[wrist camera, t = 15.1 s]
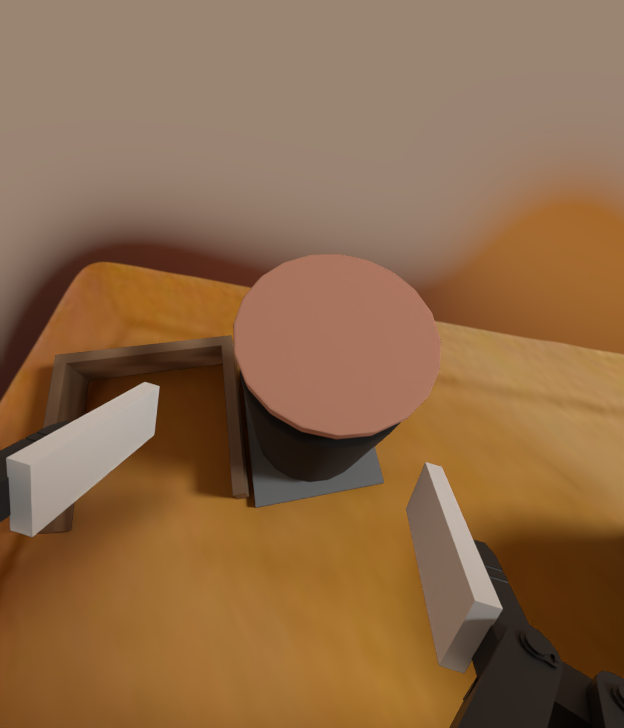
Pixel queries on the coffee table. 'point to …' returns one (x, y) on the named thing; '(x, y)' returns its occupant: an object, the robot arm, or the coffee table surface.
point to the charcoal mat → (282, 488)
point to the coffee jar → (332, 361)
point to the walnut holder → (117, 362)
